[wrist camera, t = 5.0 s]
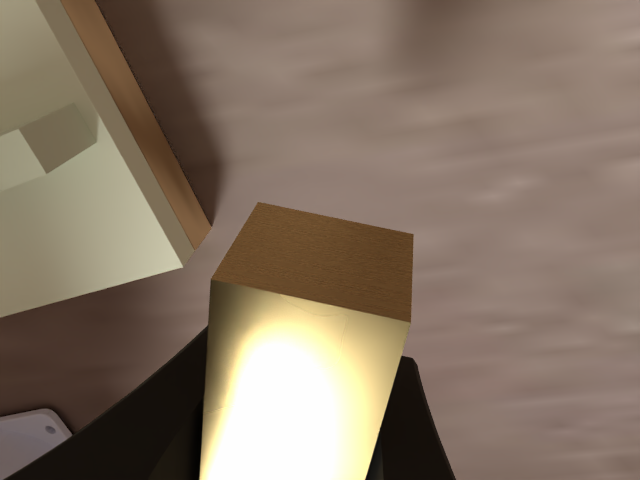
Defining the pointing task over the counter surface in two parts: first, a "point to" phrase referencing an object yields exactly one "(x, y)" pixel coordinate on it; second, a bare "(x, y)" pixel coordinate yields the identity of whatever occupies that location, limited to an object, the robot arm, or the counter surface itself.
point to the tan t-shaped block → (303, 346)
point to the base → (138, 116)
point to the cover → (70, 172)
